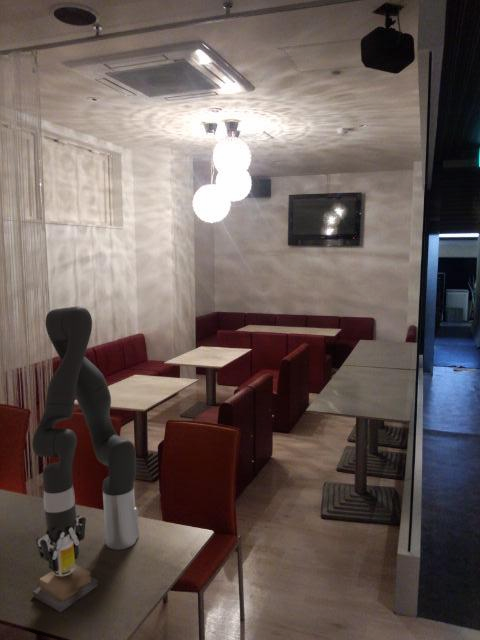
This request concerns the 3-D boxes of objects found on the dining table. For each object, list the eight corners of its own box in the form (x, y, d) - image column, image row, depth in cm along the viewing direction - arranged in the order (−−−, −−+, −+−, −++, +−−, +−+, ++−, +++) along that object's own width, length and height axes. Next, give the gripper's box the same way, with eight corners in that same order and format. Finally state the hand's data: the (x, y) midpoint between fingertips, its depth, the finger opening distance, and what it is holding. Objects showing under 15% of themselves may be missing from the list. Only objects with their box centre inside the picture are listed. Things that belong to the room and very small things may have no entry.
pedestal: (71, 571, 143) (70, 556, 142) (98, 585, 137) (97, 569, 136) (33, 596, 133) (32, 580, 132) (60, 612, 127) (59, 595, 126)
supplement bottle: (79, 564, 137) (76, 529, 135) (69, 578, 131) (67, 541, 130) (59, 563, 137) (56, 528, 136) (49, 577, 132) (46, 540, 130)
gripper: (73, 489, 139) (77, 546, 142) (25, 512, 127) (31, 574, 130) (91, 495, 135) (95, 554, 138) (44, 520, 123) (50, 584, 126)
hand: (64, 564), depth 134 cm, fingers closed on supplement bottle, 5 cm apart
